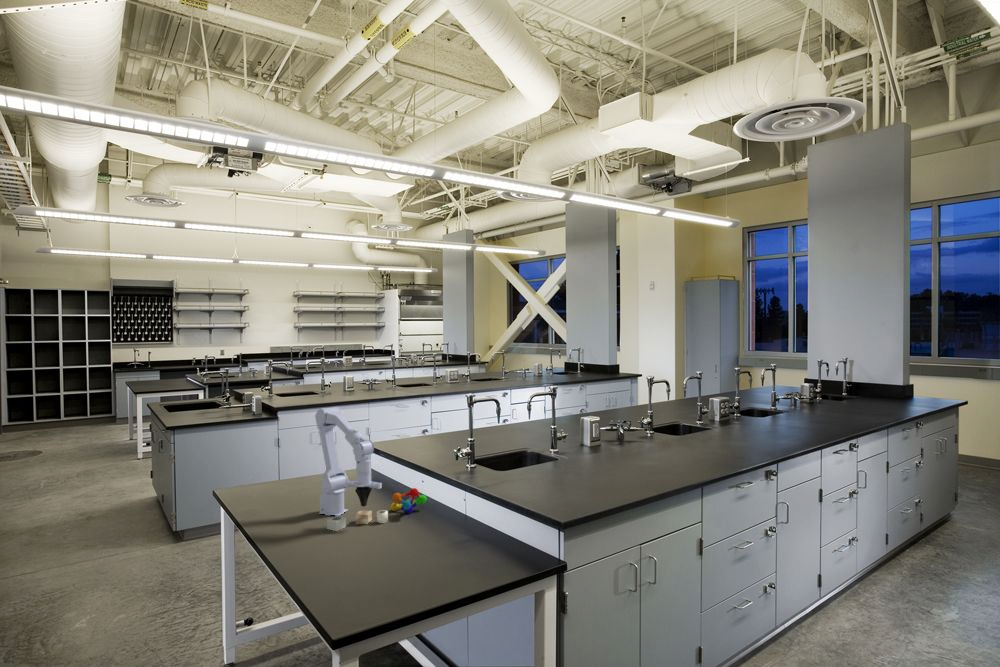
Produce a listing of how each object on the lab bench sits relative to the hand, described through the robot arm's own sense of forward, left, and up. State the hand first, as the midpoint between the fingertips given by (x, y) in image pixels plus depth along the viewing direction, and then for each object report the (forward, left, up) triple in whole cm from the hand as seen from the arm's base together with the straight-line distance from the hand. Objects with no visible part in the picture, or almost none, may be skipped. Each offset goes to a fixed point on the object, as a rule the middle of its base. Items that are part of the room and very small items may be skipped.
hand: (363, 505), depth 220 cm
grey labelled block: (-7, -9, -7) cm, 13 cm away
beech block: (0, 0, -7) cm, 7 cm away
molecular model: (+12, +16, -7) cm, 21 cm away
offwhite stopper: (+7, +2, -7) cm, 10 cm away
